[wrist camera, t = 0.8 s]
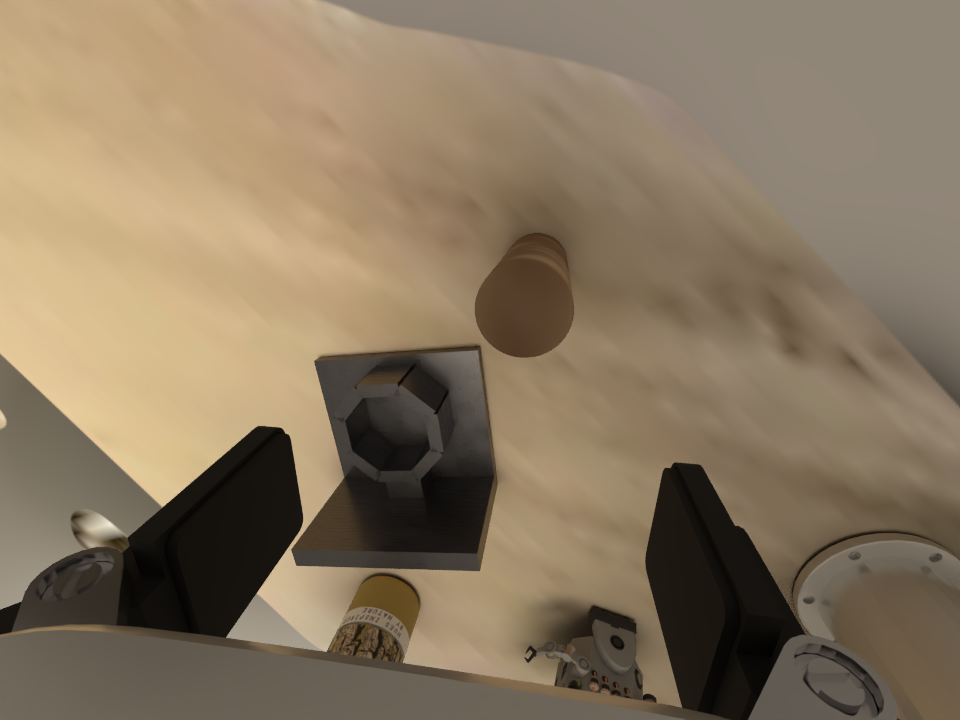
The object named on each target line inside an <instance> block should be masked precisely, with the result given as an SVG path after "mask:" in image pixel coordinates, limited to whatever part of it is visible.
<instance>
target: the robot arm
mask: <svg viewBox="0 0 960 720" xmlns="http://www.w3.org/2000/svg"><path fill="white" fill-rule="evenodd" d="M302 523H303V512H302V506H301V500H300V494H299V488H298V482H297V475H296V469H295V463H294V457H293V451H292V445H291V439H290V436H289V435H288V434H285V432H284V430H283V429H282V428H278V427H266V426H258V427H256V428H255V429H253V430H252V431H251V432H250V433H249V434H248V435H246V436H245V437H244V438H243V439H242V440H241V441H239V442H238V443H237V444H236V445H235V446H234V447H232V448H231V449H230V450H229V451H228V452H227V453H226V454H224V455H223V456H222V457H221V458H220V459H219V460H217V461H216V462H215V463H214V464H213V465H212V466H210V467H209V468H208V469H207V470H206V471H205V472H203V473H202V474H201V475H200V476H199V477H198V478H196V479H195V480H194V481H193V482H192V483H191V484H189V485H188V486H187V487H186V488H185V489H184V490H183V491H181V492H180V493H179V494H178V495H177V496H176V497H174V498H173V499H172V500H171V501H170V502H169V503H167V504H166V505H165V506H164V507H163V508H162V509H160V510H159V511H158V512H157V513H156V514H155V515H154V516H152V517H151V518H150V519H149V520H148V521H146V522H145V523H144V524H143V525H142V526H141V527H140V528H139V529H137V530H136V531H135V532H134V533H133V534H131V535H130V536H129V537H128V541H129V544H130V546H129V547H128V548H127V549H126V550H125V551H124V552H123V553H122V552H121V551H119V550H118V549H117V548H112V547H95V548H91V549H86V550H82V551H80V552H77V553H74V554H72V555H69V556H67V557H65V558H63V559H61V560H59V561H58V562H56V563H54V564H52V565H51V566H49V567H48V568H47V569H45V570H44V571H42V572H41V573H40V574H39V575H38V576H37V577H36V578H35V579H34V580H33V581H32V582H31V583H30V585H29V586H28V588H27V590H26V591H25V594H24V597H23V600H22V602H19V603H17V604H14V605H11V606H9V607H6V608H3V609H1V610H0V720H960V560H959V559H958V558H956V557H955V556H954V555H953V554H952V553H951V552H949V551H948V550H947V549H946V548H944V547H942V546H940V545H938V544H937V543H935V542H933V541H930V540H927V539H924V538H921V537H918V536H913V535H906V534H900V533H879V534H870V535H863V536H859V537H855V538H851V539H847V540H845V541H842V542H840V543H837V544H835V545H833V546H831V547H829V548H827V549H826V550H824V551H822V552H821V553H819V554H818V555H817V556H815V557H814V558H813V559H812V560H811V561H810V562H808V564H807V565H806V566H805V567H804V568H803V570H802V571H801V572H800V574H799V576H798V578H797V580H796V582H795V585H794V590H793V604H794V607H795V610H796V613H797V615H798V617H799V618H800V620H801V622H802V623H803V625H804V627H805V628H806V629H807V630H808V631H809V633H810V634H811V635H805V633H804V631H803V629H802V628H801V626H800V624H799V622H798V621H797V619H796V617H795V615H794V614H793V612H792V610H791V609H790V607H789V605H788V603H787V602H786V600H785V598H784V596H783V595H782V593H781V591H780V589H779V588H778V586H777V584H776V583H775V581H774V579H773V577H772V576H771V574H770V572H769V570H768V569H767V567H766V565H765V563H764V562H763V560H762V558H761V556H760V555H759V553H758V551H757V550H756V548H755V546H754V544H753V543H752V541H751V539H750V537H749V536H748V534H747V533H746V531H745V530H744V529H743V528H741V527H739V526H735V525H734V523H733V522H732V520H731V518H730V516H729V514H728V513H727V511H726V509H725V507H724V505H723V504H722V502H721V500H720V498H719V496H718V495H717V493H716V491H715V489H714V487H713V485H712V484H711V482H710V480H709V478H708V476H707V475H706V473H705V471H704V469H703V468H702V466H701V465H698V464H687V463H676V462H675V463H673V465H672V467H671V468H665V469H664V470H663V473H662V478H661V483H660V488H659V493H658V498H657V503H656V508H655V512H654V517H653V522H652V527H651V532H650V537H649V542H648V547H647V551H646V560H645V561H646V571H647V575H648V579H649V583H650V587H651V590H652V594H653V598H654V602H655V606H656V609H657V613H658V617H659V621H660V625H661V628H662V632H663V636H664V640H665V643H666V647H667V651H668V655H669V659H670V662H671V666H672V670H673V674H674V678H675V681H676V685H677V689H678V693H679V697H680V700H681V704H682V708H680V707H675V706H671V705H665V704H659V703H653V702H647V701H642V700H636V699H630V698H624V697H618V696H612V695H607V694H601V693H595V692H589V691H583V690H576V689H570V688H563V687H557V686H550V685H544V684H537V683H531V682H524V681H518V680H511V679H504V678H498V677H491V676H485V675H478V674H472V673H465V672H459V671H452V670H445V669H438V668H432V667H425V666H418V665H411V664H405V663H398V662H391V661H384V660H377V659H370V658H364V657H357V656H350V655H343V654H336V653H329V652H322V651H315V650H308V649H301V648H294V647H286V646H280V645H273V644H265V643H258V642H251V641H243V640H237V639H230V638H226V636H227V635H228V633H229V632H230V630H231V629H232V628H233V626H234V625H235V623H236V622H237V620H238V619H239V618H240V616H241V615H242V613H243V612H244V610H245V609H246V608H247V606H248V605H249V603H250V602H251V600H252V599H253V597H254V596H255V595H256V593H257V592H258V590H259V589H260V587H261V586H262V584H263V583H264V582H265V580H266V579H267V577H268V576H269V574H270V573H271V572H272V570H273V569H274V567H275V566H276V564H277V563H278V561H279V560H280V559H281V557H282V556H283V554H284V553H285V551H286V550H287V548H288V547H289V546H290V544H291V543H292V541H293V540H294V538H295V537H296V536H297V534H298V533H299V531H300V529H301V527H302Z"/></svg>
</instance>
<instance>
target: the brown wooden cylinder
mask: <svg viewBox="0 0 960 720" xmlns="http://www.w3.org/2000/svg"><path fill="white" fill-rule="evenodd" d="M573 315H574V304H573V297H572V290H571V284H570V277H569V270H568V263H567V257H566V253H565V251H564V249H563V247H562V246H561V244H560V243H559V242H558V241H557V240H556V239H554V238H553V237H551V236H549V235H546V234H541V233H534V234H529V235H526V236H524V237H522V238H521V239H519V240H518V241H517V242H516V243H515V244H514V245H513V246H512V247H511V249H510V250H509V251H508V252H507V254H506V255H505V256H504V257H503V259H502V260H501V261H500V262H499V263H498V265H497V266H496V267H495V268H494V270H493V271H492V272H491V273H490V274H489V276H488V277H487V278H486V279H485V281H484V282H483V284H482V285H481V287H480V289H479V291H478V294H477V297H476V302H475V316H476V321H477V324H478V327H479V329H480V331H481V333H482V335H483V336H484V338H485V339H486V340H487V341H488V342H489V343H490V344H491V345H492V346H493V347H494V348H496V349H497V350H499V351H501V352H503V353H505V354H507V355H510V356H514V357H535V356H539V355H542V354H544V353H547V352H549V351H550V350H552V349H553V348H555V347H556V346H557V345H558V344H559V343H561V341H562V340H563V339H564V338H565V336H566V335H567V333H568V332H569V329H570V327H571V324H572V321H573Z"/></svg>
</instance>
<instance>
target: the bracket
mask: <svg viewBox="0 0 960 720" xmlns="http://www.w3.org/2000/svg"><path fill="white" fill-rule="evenodd" d="M314 362H315V366H316V370H317V374H318V377H319V381H320V385H321V389H322V393H323V397H324V400H325V404H326V408H327V412H328V416H329V420H330V423H331V427H332V431H333V435H334V439H335V443H336V446H337V450H338V454H339V458H340V462H341V466H342V470H343V473H344V477H345V478H344V479H343V481H342V482H341V483H340V485H339V486H338V487H337V489H336V490H335V491H334V493H333V494H332V495H331V497H330V498H329V499H328V501H327V502H326V503H325V505H324V506H323V508H322V509H321V510H320V512H319V513H318V514H317V516H316V517H315V518H314V520H313V521H312V522H311V524H310V525H309V526H308V528H307V529H306V530H305V532H304V533H303V534H302V536H301V537H300V539H299V540H298V541H297V543H296V544H295V545H294V547H293V548H292V549H291V550H292V553H293V556H294V559H295V563H296V566H328V567H361V568H395V569H429V570H463V571H480V568H481V563H482V558H483V553H484V548H485V543H486V538H487V533H488V528H489V523H490V519H491V514H492V509H493V504H494V499H495V494H496V489H497V484H498V483H497V475H496V468H495V460H494V452H493V444H492V437H491V429H490V421H489V413H488V406H487V398H486V390H485V382H484V375H483V367H482V359H481V351H480V346H476V347H461V348H446V349H431V350H417V351H402V352H387V353H372V354H358V355H343V356H328V357H319V358H318V359H317V360H315V361H314Z"/></svg>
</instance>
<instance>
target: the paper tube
mask: <svg viewBox="0 0 960 720" xmlns="http://www.w3.org/2000/svg"><path fill="white" fill-rule="evenodd" d="M418 613H419V602H418V599H417V596H416V594H415V593H414V591H413V590H412V589H411V588H410V587H409V586H408V585H407V584H406V583H404V582H403V581H401V580H399V579H396V578H393V577H389V576H376V577H372V578H370V579H368V580H366V581H365V582H364V583H362V585H361V586H360V587H359V589H358V591H357V593H356V595H355V597H354V599H353V601H352V603H351V605H350V607H349V609H348V611H347V613H346V615H345V616H344V618H343V620H342V622H341V624H340V626H339V628H338V630H337V632H336V634H335V636H334V638H333V640H332V642H331V644H330V646H329V648H328V650H327V652H329V653H336V654H343V655H350V656H357V657H364V658H370V659H377V660H384V661H391V662H398V663H403V660H404V657H405V654H406V651H407V648H408V645H409V641H410V638H411V635H412V632H413V629H414V626H415V623H416V620H417V617H418Z"/></svg>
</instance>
